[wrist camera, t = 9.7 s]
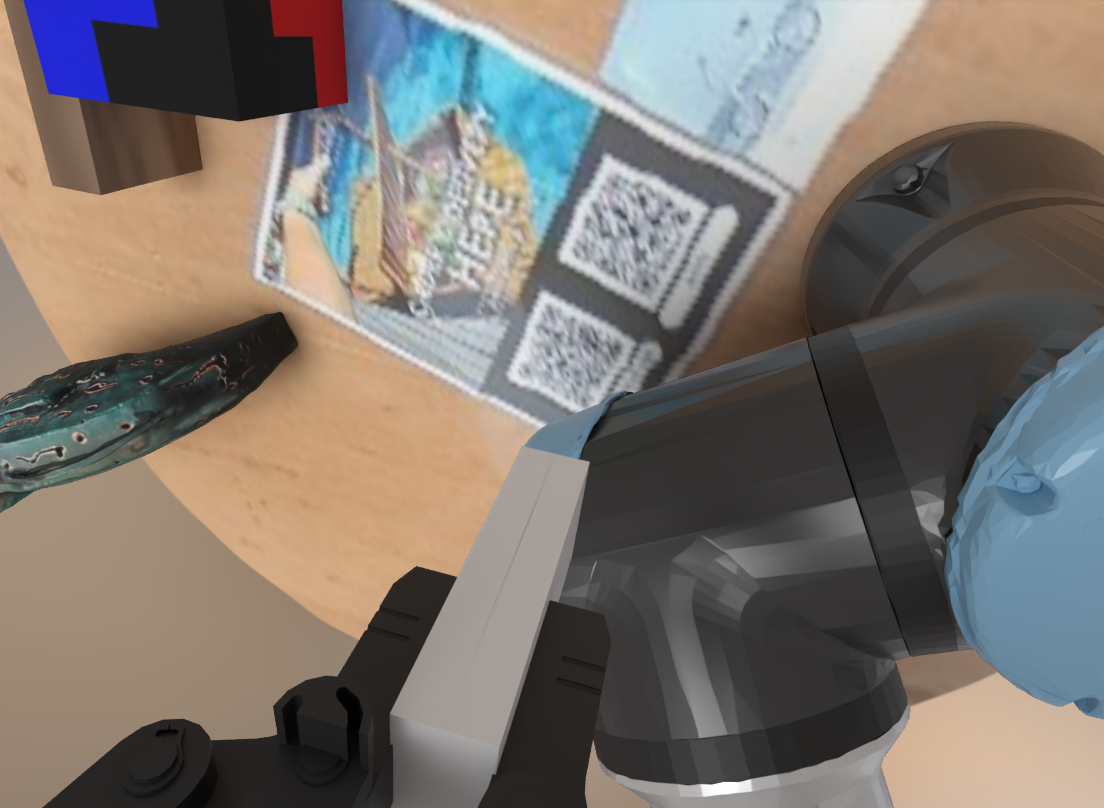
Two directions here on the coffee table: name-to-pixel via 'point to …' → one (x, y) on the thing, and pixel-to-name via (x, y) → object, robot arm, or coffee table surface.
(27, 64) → the walnut board
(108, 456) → the ceramic cat
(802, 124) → the coffee table surface
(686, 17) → the coffee table surface
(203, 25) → the puzzle toy
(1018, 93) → the coffee table surface
